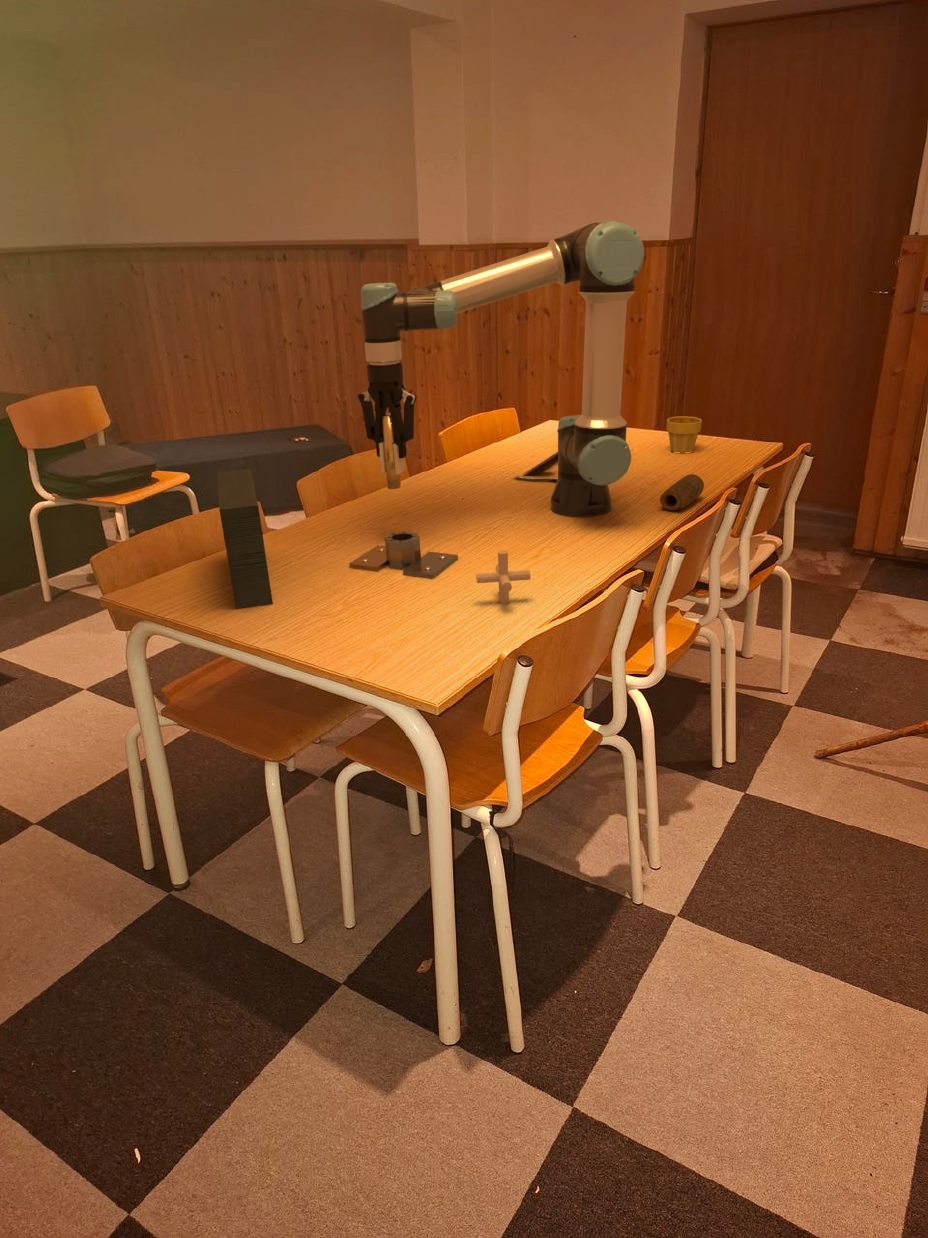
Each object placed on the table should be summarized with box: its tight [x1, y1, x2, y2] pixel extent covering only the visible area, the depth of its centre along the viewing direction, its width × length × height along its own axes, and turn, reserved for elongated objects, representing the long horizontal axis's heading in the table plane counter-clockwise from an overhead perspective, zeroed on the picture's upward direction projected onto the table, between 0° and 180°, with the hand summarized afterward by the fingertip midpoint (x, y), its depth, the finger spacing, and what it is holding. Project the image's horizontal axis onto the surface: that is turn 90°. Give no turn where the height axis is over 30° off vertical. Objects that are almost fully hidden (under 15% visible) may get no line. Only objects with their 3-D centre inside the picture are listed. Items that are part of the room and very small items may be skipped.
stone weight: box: [659, 473, 705, 511], centre depth 209 cm, size 15×7×7 cm, turn 148°
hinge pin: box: [382, 413, 402, 490], centre depth 185 cm, size 3×3×16 cm
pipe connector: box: [475, 549, 531, 604], centre depth 158 cm, size 10×10×10 cm
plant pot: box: [666, 415, 703, 453], centre depth 258 cm, size 10×10×10 cm
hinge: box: [348, 530, 459, 580], centre depth 179 cm, size 20×12×6 cm, turn 65°
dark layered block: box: [216, 468, 274, 610], centre depth 171 cm, size 29×7×20 cm, turn 16°
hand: (392, 471), depth 187 cm, fingers closed on hinge pin, 3 cm apart
